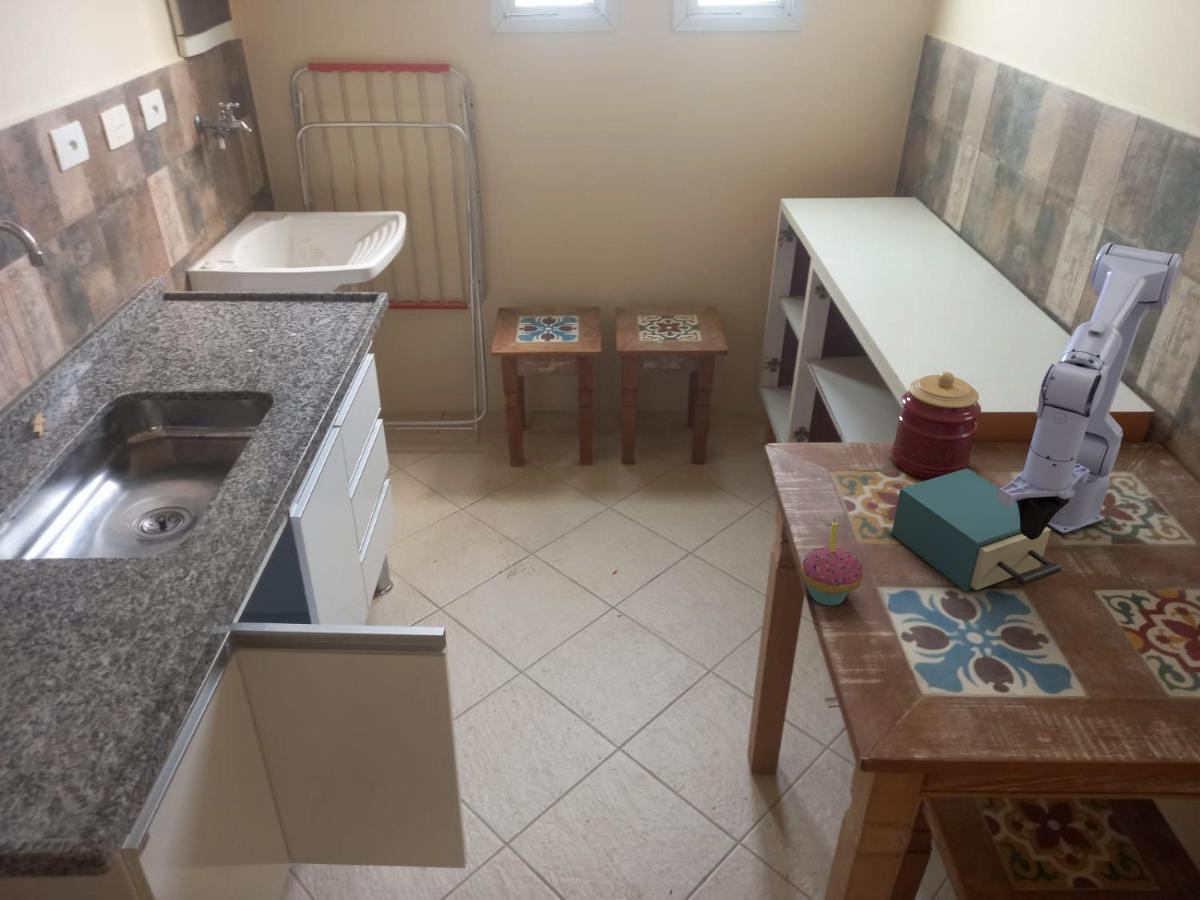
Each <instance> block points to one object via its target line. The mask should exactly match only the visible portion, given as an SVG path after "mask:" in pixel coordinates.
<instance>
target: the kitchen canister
mask: <svg viewBox="0 0 1200 900" xmlns="http://www.w3.org/2000/svg"><path fill="white" fill-rule="evenodd" d="M979 399H980V395H979V392H978V391H977V390H976V389H975V388H974V387H973V386H972V385H970V384H969V383H968V382H966V381H965V380H963V379H961V378H958V377H955V376H954V375H953V373H952V372H950V371H944V372H942V373H940V374H930V375H926V376H923V377H921V378H917V379H915V380H913V381H911V382H910V384H909V386H908V390H907V391H906V392H905V393H903V395H902V396H901V404H902V406H903V407H902V409H901V410H900V411H899V413H898V422H897V427H896V433H895V438H894V441H893V443H892V449H891V451H892V460H893V463H894V464H895V465H896V466H897V467H898V468H899V469H901V470H902V471H903V472H905V473H907V474H910V475H911V476H914V477H917V478H921V479H924V480H925V479H926V480H930V479H933V478H937V477H940V476H943V475H947V474H950V473H953V472H957V471H960V470H963V469H967V468H968V467H969V463H970V459H971V451H972V446H973V442H974V438H975V434H976V432H977V429H978V424H977V422H976V421H977V418H979V416H980V415H981V413H982V407H981V405H980V403H979V402H978V401H979Z"/></svg>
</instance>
